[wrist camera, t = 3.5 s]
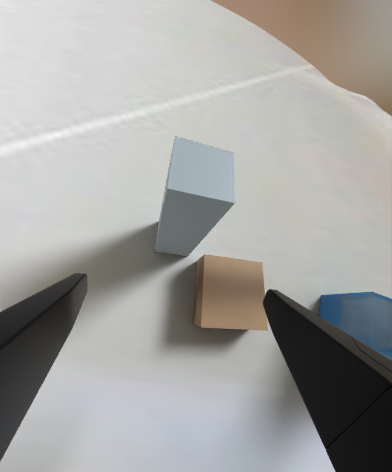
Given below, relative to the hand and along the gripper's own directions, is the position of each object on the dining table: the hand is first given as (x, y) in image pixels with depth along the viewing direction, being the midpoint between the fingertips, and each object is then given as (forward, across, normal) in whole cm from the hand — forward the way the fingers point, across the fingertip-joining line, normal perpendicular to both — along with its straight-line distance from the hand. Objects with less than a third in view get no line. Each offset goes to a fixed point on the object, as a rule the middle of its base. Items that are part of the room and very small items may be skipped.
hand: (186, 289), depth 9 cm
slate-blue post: (+13, 0, +3) cm, 14 cm away
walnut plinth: (+9, -7, +8) cm, 14 cm away
